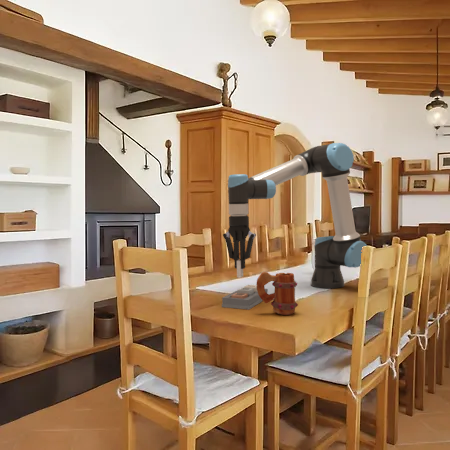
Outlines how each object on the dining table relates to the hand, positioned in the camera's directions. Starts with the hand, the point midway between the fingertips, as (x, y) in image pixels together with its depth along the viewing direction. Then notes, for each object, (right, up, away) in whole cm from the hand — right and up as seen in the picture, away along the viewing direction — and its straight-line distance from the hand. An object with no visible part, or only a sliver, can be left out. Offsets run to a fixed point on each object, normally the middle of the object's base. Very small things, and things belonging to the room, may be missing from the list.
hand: (240, 277), depth 174 cm
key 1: (+5, -8, +12) cm, 15 cm away
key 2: (+2, -8, +6) cm, 10 cm away
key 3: (0, -9, 0) cm, 9 cm away
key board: (+2, -11, +6) cm, 13 cm away
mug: (+13, -12, -12) cm, 21 cm away
